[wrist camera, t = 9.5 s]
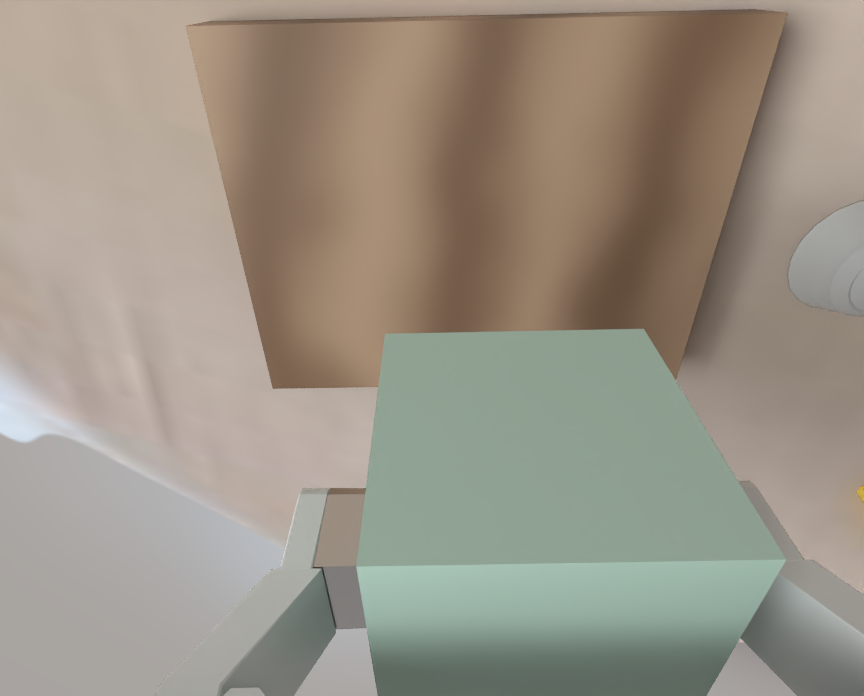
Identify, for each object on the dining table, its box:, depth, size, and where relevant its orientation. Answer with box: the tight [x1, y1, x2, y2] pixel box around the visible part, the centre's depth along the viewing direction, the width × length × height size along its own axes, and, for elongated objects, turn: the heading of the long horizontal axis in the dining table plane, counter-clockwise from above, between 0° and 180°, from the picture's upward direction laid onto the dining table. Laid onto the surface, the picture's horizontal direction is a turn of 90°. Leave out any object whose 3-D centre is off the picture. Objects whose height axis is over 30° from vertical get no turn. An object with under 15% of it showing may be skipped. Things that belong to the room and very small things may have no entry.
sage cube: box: [356, 329, 786, 696], centre depth 10 cm, size 5×5×5 cm
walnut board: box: [186, 9, 787, 389], centre depth 21 cm, size 18×14×2 cm
